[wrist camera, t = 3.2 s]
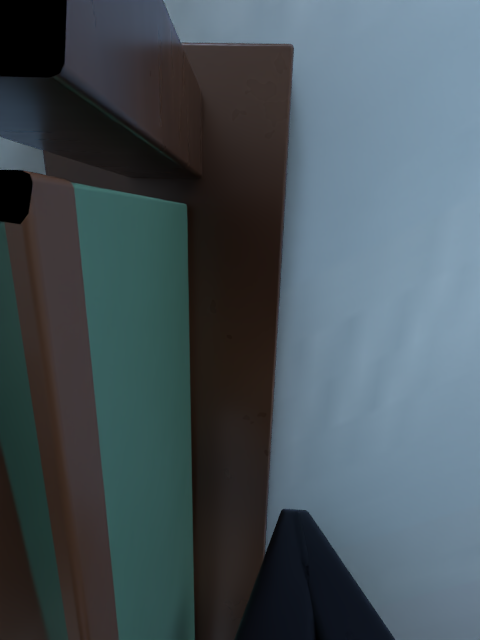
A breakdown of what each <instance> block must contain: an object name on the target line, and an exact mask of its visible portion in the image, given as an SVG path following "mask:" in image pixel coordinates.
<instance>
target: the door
mask: <svg viewBox="0 0 480 640" xmlns="http://www.w3.org/2000/svg"><path fill="white" fill-rule="evenodd" d="M0 640H195V623H194V567H193V511H192V455H191V399H190V343H189V287H188V232H187V205H186V204H184V203H178V202H173V201H168V200H163V199H157V198H152V197H147V196H141V195H136V194H131V193H126V192H120V191H115V190H110V189H104V188H99V187H94V186H89V185H83V184H78V183H73V182H70V181H68V180H66V179H63V178H58V177H53V176H48V175H43V174H38V173H33V172H28V171H23V170H0Z"/></svg>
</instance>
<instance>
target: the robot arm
mask: <svg viewBox="0 0 480 640" xmlns="http://www.w3.org/2000/svg"><path fill="white" fill-rule="evenodd" d="M234 640H395V639H394V637H393V636H392V634H391V633H390V631H389V630H388V628H387V627H386V625H385V624H384V622H383V621H382V620H381V618H380V617H379V615H378V614H377V612H376V611H375V609H374V608H373V606H372V605H371V603H370V602H369V600H368V599H367V597H366V596H365V595H364V593H363V592H362V590H361V589H360V587H359V586H358V584H357V583H356V581H355V580H354V578H353V577H352V575H351V574H350V572H349V571H348V570H347V568H346V567H345V565H344V564H343V562H342V561H341V559H340V558H339V556H338V555H337V553H336V552H335V550H334V549H333V548H332V546H331V545H330V543H329V542H328V540H327V539H326V537H325V536H324V534H323V533H322V531H321V530H320V528H319V527H318V525H317V524H316V523H315V521H314V520H313V518H312V517H311V515H310V514H309V512H307V511H306V510H295V509H283V510H282V511H281V513H280V516H279V518H278V521H277V524H276V527H275V529H274V532H273V535H272V538H271V540H270V543H269V546H268V548H267V551H266V554H265V557H264V559H263V562H262V565H261V568H260V570H259V573H258V576H257V579H256V581H255V584H254V587H253V590H252V592H251V595H250V598H249V601H248V603H247V606H246V609H245V611H244V614H243V617H242V620H241V622H240V625H239V628H238V631H237V633H236V636H235V639H234Z"/></svg>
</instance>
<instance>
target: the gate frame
mask: <svg viewBox="0 0 480 640" xmlns="http://www.w3.org/2000/svg"><path fill="white" fill-rule="evenodd" d="M293 54H294V48H293V45H292V44H250V43H181V42H180V40H179V37H178V35H177V33H176V30H175V28H174V26H173V23H172V21H171V19H170V16H169V14H168V11H167V9H166V7H165V4H164V2H163V0H0V137H3V138H6V139H9V140H12V141H15V142H18V143H22V144H25V145H28V146H31V147H34V148H37V149H41V150H43V155H44V163H45V172H46V175H48V176H53V177H58V178H63V179H66V180H68V181H70V182H73V183H78V184H83V185H89V186H94V187H99V188H104V189H110V190H115V191H120V192H126V193H131V194H136V195H141V196H147V197H152V198H157V199H163V200H168V201H173V202H178V203H184V204H186V205H187V232H188V287H189V343H190V399H191V455H192V511H193V567H194V623H195V640H234V639H235V636H236V633H237V631H238V628H239V625H240V622H241V620H242V617H243V614H244V611H245V609H246V606H247V603H248V601H249V598H250V595H251V592H252V590H253V587H254V584H255V581H256V579H257V576H258V573H259V570H260V568H261V565H262V562H263V559H264V557H265V543H266V525H267V508H268V490H269V473H270V455H271V438H272V420H273V403H274V385H275V368H276V351H277V333H278V316H279V298H280V281H281V263H282V246H283V228H284V211H285V193H286V176H287V158H288V141H289V124H290V106H291V89H292V71H293Z"/></svg>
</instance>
